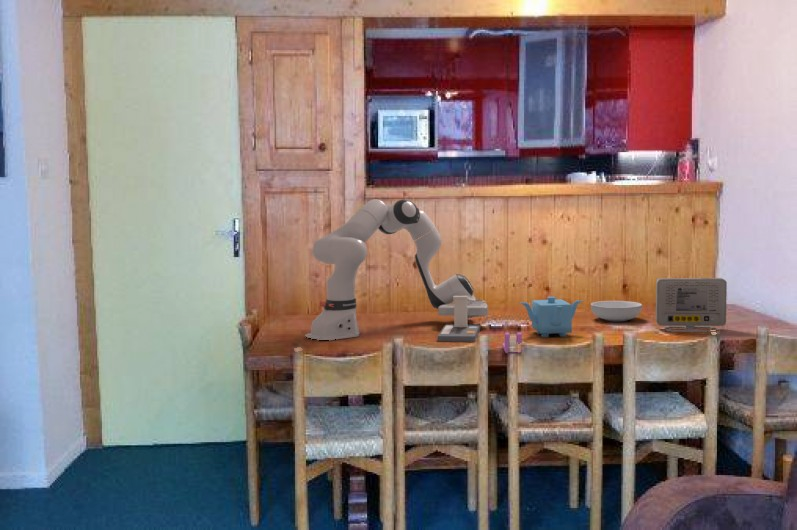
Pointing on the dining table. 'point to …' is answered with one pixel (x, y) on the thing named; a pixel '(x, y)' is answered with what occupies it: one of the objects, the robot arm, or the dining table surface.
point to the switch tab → (460, 311)
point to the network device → (691, 303)
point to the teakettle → (551, 316)
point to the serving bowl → (616, 310)
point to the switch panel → (459, 333)
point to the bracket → (506, 344)
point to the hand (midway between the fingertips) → (461, 313)
